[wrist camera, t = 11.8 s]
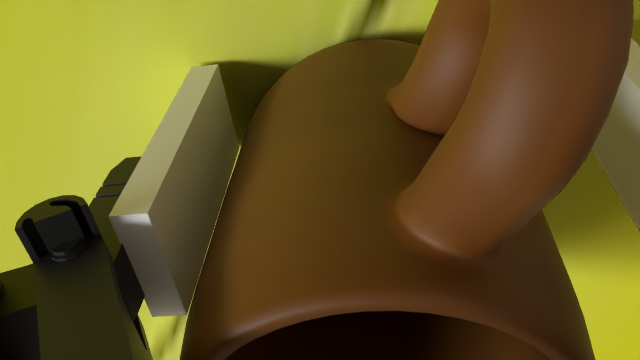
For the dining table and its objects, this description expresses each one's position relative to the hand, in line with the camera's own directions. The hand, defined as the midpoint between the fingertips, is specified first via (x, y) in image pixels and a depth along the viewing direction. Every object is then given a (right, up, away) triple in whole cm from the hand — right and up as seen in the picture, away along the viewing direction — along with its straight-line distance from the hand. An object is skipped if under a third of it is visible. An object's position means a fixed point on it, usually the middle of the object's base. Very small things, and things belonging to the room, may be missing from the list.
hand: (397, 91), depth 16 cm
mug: (0, 0, 0) cm, 1 cm away
